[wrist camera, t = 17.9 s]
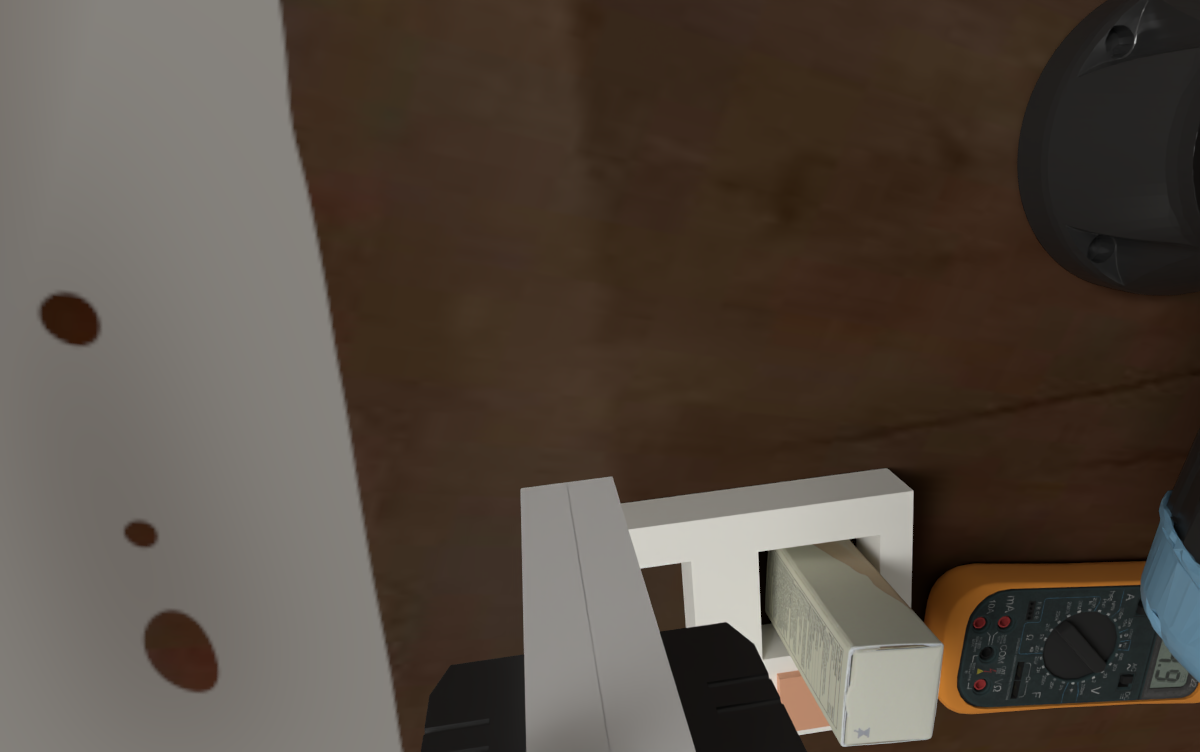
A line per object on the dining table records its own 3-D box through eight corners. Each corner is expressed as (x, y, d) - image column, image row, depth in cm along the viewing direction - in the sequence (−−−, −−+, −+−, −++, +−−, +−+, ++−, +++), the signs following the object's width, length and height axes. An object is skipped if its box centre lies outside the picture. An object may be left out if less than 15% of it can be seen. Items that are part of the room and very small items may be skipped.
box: (834, 607, 45) (932, 747, 35) (761, 611, 45) (839, 754, 34) (843, 524, 44) (948, 644, 33) (768, 527, 43) (851, 650, 33)
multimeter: (924, 556, 45) (957, 587, 42) (1208, 548, 47) (1259, 578, 44) (904, 682, 48) (933, 722, 44) (1175, 670, 50) (1221, 707, 46)
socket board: (887, 468, 43) (918, 494, 40) (884, 683, 47) (912, 723, 44) (523, 516, 41) (524, 548, 38) (552, 734, 45) (555, 780, 42)
